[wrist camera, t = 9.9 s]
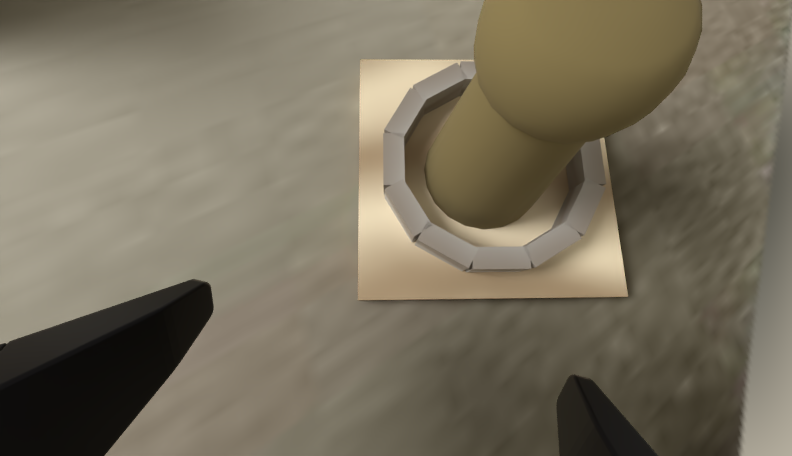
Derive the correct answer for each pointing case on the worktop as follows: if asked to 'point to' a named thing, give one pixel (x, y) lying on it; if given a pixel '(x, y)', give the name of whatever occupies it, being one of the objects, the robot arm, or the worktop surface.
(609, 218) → the seat
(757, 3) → the worktop surface
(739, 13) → the worktop surface
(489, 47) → the cork
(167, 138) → the worktop surface
